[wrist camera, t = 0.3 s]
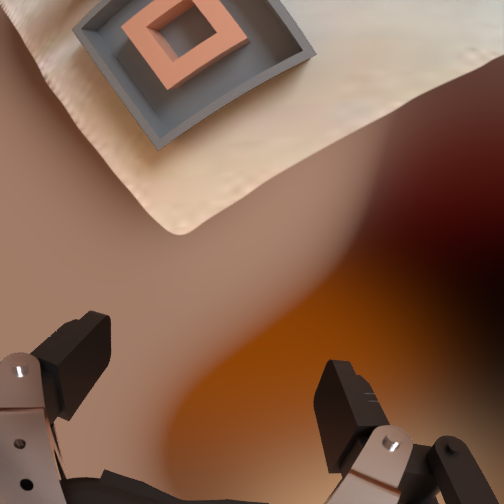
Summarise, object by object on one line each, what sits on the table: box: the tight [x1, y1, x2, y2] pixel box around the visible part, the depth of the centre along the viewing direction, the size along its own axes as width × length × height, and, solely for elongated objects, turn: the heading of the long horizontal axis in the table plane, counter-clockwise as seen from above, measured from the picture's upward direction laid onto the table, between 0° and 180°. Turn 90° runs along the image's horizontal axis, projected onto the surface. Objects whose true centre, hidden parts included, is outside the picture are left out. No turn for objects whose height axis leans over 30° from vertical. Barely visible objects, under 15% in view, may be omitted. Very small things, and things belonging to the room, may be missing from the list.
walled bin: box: [72, 0, 317, 151], centre depth 27 cm, size 20×20×5 cm
